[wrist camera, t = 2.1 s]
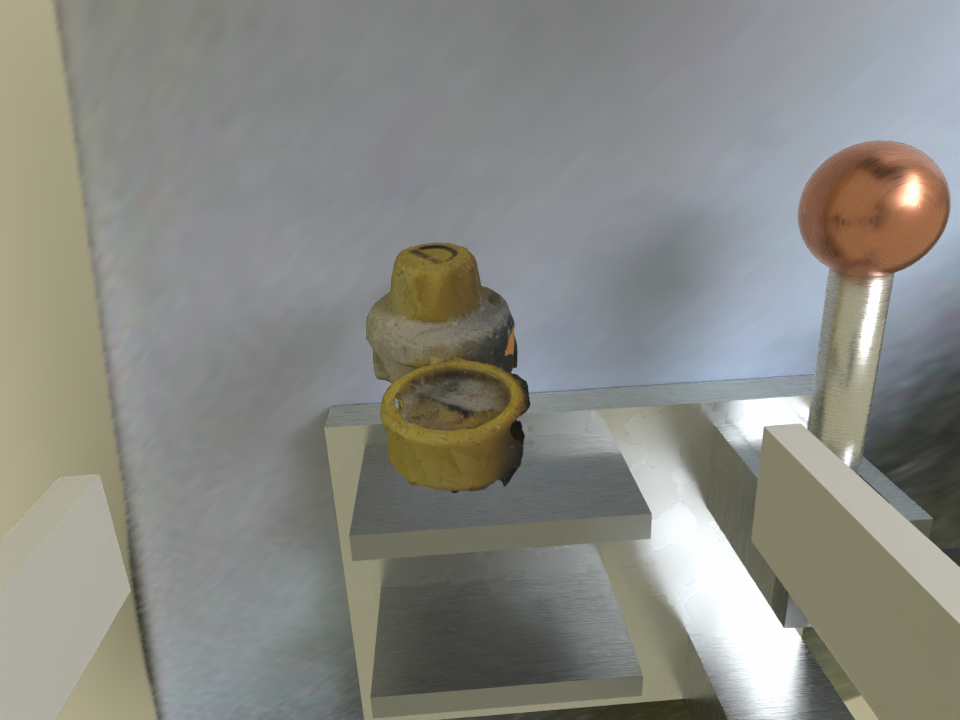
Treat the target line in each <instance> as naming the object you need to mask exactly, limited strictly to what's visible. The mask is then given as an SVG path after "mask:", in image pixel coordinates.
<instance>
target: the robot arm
mask: <svg viewBox="0 0 960 720" xmlns="http://www.w3.org/2000/svg"><path fill="white" fill-rule="evenodd" d="M751 541H752V543H753V544H754V545H755V547H756V548H757V550H758V551H759V552H760V554H761V555H762V557H763V558H764V559H765V561H766V562H767V564H768V565H769V566H770V568H771V569H772V571H773V572H774V573H775V575H776V576H777V578H778V579H779V580H780V582H781V583H782V585H783V586H784V587H785V589H786V590H787V592H788V593H789V594H790V596H791V597H792V599H793V600H794V601H795V603H796V604H797V606H798V607H799V608H800V610H801V611H802V613H803V614H804V615H805V617H806V618H807V620H808V621H809V622H810V624H811V625H812V627H813V628H814V629H815V631H816V632H817V634H818V635H819V636H820V638H821V639H822V641H823V642H824V643H825V645H826V646H827V648H828V649H829V650H830V652H831V653H832V655H833V656H834V657H835V659H836V660H837V662H838V663H839V664H840V666H841V667H842V669H843V670H844V671H845V673H846V674H847V676H848V677H849V678H850V680H851V681H852V683H853V684H854V685H855V687H856V688H857V690H858V691H859V692H860V694H861V695H862V697H863V698H864V699H865V701H866V702H867V703H868V705H869V706H870V708H871V709H872V711H873V712H874V713H875V715H876V716H877V718H878V719H879V720H960V549H959V548H953V549H941V550H940V549H939V548H938V547H937V546H936V545H935V544H934V543H932V542H931V541H930V540H929V539H928V538H927V537H926V536H925V535H924V534H922V533H921V532H920V531H919V530H918V529H917V528H916V527H915V526H914V525H913V524H911V523H910V522H909V521H908V520H907V519H906V518H905V517H904V516H903V515H901V514H900V513H899V512H898V511H897V510H896V509H895V508H894V507H893V506H891V505H890V504H889V503H888V502H887V501H886V500H885V499H884V498H883V497H882V496H880V495H879V494H878V493H877V492H876V491H875V490H874V489H873V488H872V487H870V486H869V485H868V484H867V483H866V482H865V481H864V480H863V479H862V478H861V477H859V476H858V475H857V474H856V473H855V472H854V471H853V470H852V469H851V468H849V467H848V466H847V465H846V464H845V463H844V462H843V461H842V460H841V459H839V458H838V457H837V456H836V455H835V454H834V453H833V452H832V451H831V450H830V449H828V448H827V447H826V446H825V445H824V444H823V443H822V442H821V441H820V440H818V439H817V438H816V437H815V436H814V435H813V434H812V433H811V432H810V431H809V430H807V429H806V428H805V427H804V426H803V425H802V424H801V423H799V424H785V425H771V426H764V428H763V437H762V446H761V456H760V465H759V474H758V483H757V492H756V501H755V510H754V519H753V528H752V537H751ZM130 591H131V589H130V586H129V582H128V578H127V574H126V571H125V567H124V563H123V560H122V556H121V552H120V548H119V544H118V541H117V537H116V533H115V529H114V526H113V522H112V518H111V515H110V511H109V507H108V503H107V500H106V496H105V492H104V488H103V485H102V481H101V477H100V474H94V475H81V476H67V477H59V478H58V479H57V480H56V481H55V482H54V483H53V484H52V485H51V486H50V487H49V488H48V489H47V490H46V492H45V493H44V494H43V495H42V496H41V497H40V498H39V499H38V500H37V501H36V502H35V503H34V504H33V506H32V507H31V508H30V509H29V510H28V511H27V512H26V513H25V514H24V515H23V516H22V518H21V519H20V520H19V521H18V522H17V523H16V524H15V525H14V526H13V527H12V528H11V529H10V530H9V531H8V532H7V534H6V535H5V536H4V537H3V538H2V539H1V540H0V720H56V719H57V717H58V716H59V714H60V712H61V710H62V709H63V707H64V705H65V703H66V702H67V700H68V698H69V697H70V695H71V693H72V691H73V690H74V688H75V686H76V684H77V683H78V681H79V679H80V678H81V676H82V674H83V672H84V671H85V669H86V667H87V665H88V664H89V662H90V660H91V659H92V657H93V655H94V653H95V652H96V650H97V648H98V646H99V645H100V643H101V641H102V640H103V638H104V636H105V634H106V633H107V631H108V629H109V628H110V626H111V624H112V622H113V621H114V619H115V617H116V615H117V614H118V612H119V610H120V609H121V607H122V605H123V603H124V602H125V600H126V598H127V596H128V595H129V593H130Z"/></svg>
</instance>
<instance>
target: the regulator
mask: <svg viewBox="0 0 960 720" xmlns="http://www.w3.org/2000/svg"><path fill="white" fill-rule="evenodd" d="M366 339H367V341H368V342H369V343H370V345H371V346H372V348H373V363H374V370H375V375H376V377H377V379H381V380H386V381H388V382H390V383H392V384H391V385H390V386H389V387H388V388H387V390H386V392H385V394H384V396H383V398H382V403H381V410H380V418H381V421H382V423H383V425H384V428H385V430H386V432H387V435H388V458H389V460H390V461H391V463H392V464H393V466H394V467H395V469H396V470H397V471H398V472H399V473H400V474H401V475H402V476H403V477H404V478H405V479H406V480H407V481H408V482H409V483H410V485H411V486H413V485H420V486H424V487H429V488H433V489H438V490H445V491H451V492H452V493H457V492H458V491H464V490H468V491H471V492H472V491H480V490H483V489H486V488H487V487H488V486H489V485H491V484H493V483H495V481H496V480H500V481H502V483H503V485H504V487H506V486H507V484H508V483H509V481H510V480H511V478H512V476H513V475H514V473H515V472H516V471H517V469H518V468H519V467H520V465H521V459H522V457H523V444H524V438H525V434H524V432H523V430H522V424H521V422H520V421H517V418H518V417H520V416H522V415H523V414H524V413H525V412H526V411H527V410H528V409H529V407H530V399H529V392H528V385H527V382H526V381H524V380H523V379H521V378H520V377H519V376H518V375H516V374H512V373H511V372H512V369H513V368H516V367H517V343H516V340H515V336H514V320H513V318H512V316H511V313H510V311H509V308H508V305H507V303H506V301H505V300H504V299H503V298H502V297H501V295H499V294H498V293H496V292H495V291H493V290H491V289H489V288H487V287H483V286H481V283H480V278H479V272H478V267H477V263H476V259H475V257H474V256H473V255H472V254H471V253H470V252H469V251H468V249H467V248H464V247H461V246H457V245H453V244H449V243H429V244H424V245H419V246H414V247H410V248H407V249H404V250H402V251H401V252H400V253H399V254H398V256H397V258H396V260H395V263H394V268H393V273H392V279H391V291H390V292H389V293H388V294H387V295H385V296H384V297H383V298H381V299H380V300H379V301H378V302H376V303H375V305H374V306H373V307H372V308H371V310H370V312H369V314H368V316H367V325H366ZM395 398H396V399H397V400H398V409H397V407H395Z"/></svg>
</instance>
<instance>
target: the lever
mask: <svg viewBox="0 0 960 720" xmlns="http://www.w3.org/2000/svg"><path fill="white" fill-rule="evenodd" d="M949 213H950V192H949V187H948V184H947V181H946V179H945V177H944V175H943V173H942V171H941V170H940V168H939V167H938V165H937V164H936V163H935V162H934V161H933V160H932V159H931V158H930V157H929V156H927V155H926V154H925V153H923V152H921V151H920V150H918V149H916V148H914V147H912V146H909V145H906V144H903V143H899V142H894V141H870V142H864V143H860V144H856V145H853V146H850V147H848V148H846V149H843V150H842V151H840V152H838V153H836V154H834V155H833V156H831V157H830V158H829V159H827V160H826V161H825V162H824V163H823V164H821V166H820V167H819V168H818V169H817V170H816V171H815V172H814V173H813V175H812V176H811V177H810V179H809V180H808V182H807V184H806V186H805V188H804V190H803V192H802V195H801V198H800V203H799V209H798V223H799V229H800V233H801V235H802V238H803V240H804V242H805V244H806V246H807V248H808V249H809V250H810V252H811V253H812V254H813V255H814V256H815V257H816V258H817V259H818V260H819V261H820V262H821V263H823V264H824V265H826V266H827V267H829V274H828V281H827V288H826V295H825V302H824V309H823V316H822V324H821V331H820V338H819V345H818V352H817V359H816V366H815V373H814V380H813V387H812V395H811V402H810V409H809V416H808V423H807V430H809V431H810V432H811V433H812V434H813V435H814V436H815V437H816V438H817V439H818V440H820V441H821V442H822V443H823V444H824V445H825V446H826V447H827V448H828V449H830V450H831V451H832V452H833V453H834V454H835V455H836V456H837V457H838V458H839V459H841V460H842V461H843V462H844V463H845V464H846V465H847V466H848V467H849V468H851V469H852V470H853V471H854V472H855V473H856V474H857V475H858V476H859V472H860V466H861V461H862V455H863V449H864V444H865V438H866V432H867V427H868V421H869V415H870V409H871V404H872V398H873V392H874V387H875V381H876V375H877V370H878V364H879V358H880V353H881V347H882V341H883V336H884V330H885V324H886V318H887V313H888V307H889V301H890V296H891V290H892V284H893V279H894V273H895V272H898V271H900V270H903V269H905V268H907V267H909V266H911V265H912V264H914V263H915V262H917V261H918V260H920V259H921V258H922V257H923V256H925V255H926V254H927V253H928V252H929V251H930V250H931V249H932V248H933V247H934V245H935V244H936V243H937V241H938V240H939V238H940V237H941V235H942V233H943V231H944V229H945V227H946V224H947V222H948V218H949Z"/></svg>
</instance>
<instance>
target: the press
mask: <svg viewBox="0 0 960 720" xmlns="http://www.w3.org/2000/svg"><path fill="white" fill-rule="evenodd" d="M813 380H814V375H801V376H786V377H770V378H755V379H740V380H724V381H709V382H694V383H679V384H663V385H648V386H633V387H618V388H602V389H587V390H572V391H556V392H541V393H529V399H530V407H529V409H528V410H527V411H526V412H525V413H524V414H523V415H522V416H520V417H518V418H517V421H520V422H521V424H522V430H523V432H524V434H525V438H524V444H523V457H522V459H521V465H520V467H519V468H518V469H517V471H516V472H515V473H514V475H513V476H512V478H511V480H510V481H509V483H508V484H507V486H506V487H504V485H503V483H502V481H500V480H496V481H495V483H493V484H491V485H489V486H488V487H487V488H486V489H483V490H480V491H472V492H471V491H468V490H464V491H458V492H457V493H452V492H451V491H445V490H438V489H433V488H429V487H424V486H420V485H413V486H411V485H410V483H409V482H408V481H407V480H406V479H405V478H404V477H403V476H402V475H401V474H400V473H399V472H398V471H397V470H396V469H395V467H394V466H393V464H392V463H391V461H390V460H389V458H388V435H387V432H386V430H385V428H384V425H383V423H382V421H381V418H380V410H381V403H373V404H358V405H343V406H331V407H330V410H329V413H328V417H327V420H326V423H325V427H324V430H325V438H326V445H327V452H328V460H329V467H330V474H331V481H332V489H333V496H334V503H335V511H336V518H337V525H338V532H339V540H340V547H341V554H342V561H343V569H344V576H345V583H346V591H347V598H348V605H349V612H350V620H351V627H352V634H353V642H354V649H355V656H356V663H357V671H358V678H359V685H360V693H361V700H362V707H363V714H364V720H440V719H451V718H463V717H475V716H487V715H498V714H510V713H522V712H534V711H545V710H557V709H569V708H581V707H593V706H604V705H616V704H628V703H640V702H651V701H663V700H675V699H684V701H685V704H686V706H687V709H688V711H689V714H690V716H691V719H692V720H855V719H854V718H853V716H852V715H851V713H850V712H849V710H848V708H847V707H846V706H845V704H844V702H843V701H842V699H841V698H840V696H839V695H838V693H837V692H836V690H835V689H834V687H833V686H832V684H831V683H830V681H829V680H828V678H827V677H826V675H825V674H824V672H823V670H822V669H821V667H820V666H819V664H818V663H817V661H816V660H815V658H814V657H813V655H812V654H811V652H810V651H809V649H808V648H807V646H806V645H805V643H804V642H803V640H802V639H801V638H802V632H803V627H811V626H812V625H811V624H810V622H809V621H808V620H807V618H806V617H805V615H804V614H803V613H802V611H801V610H800V608H799V607H798V606H797V604H796V603H795V601H794V600H793V599H792V597H791V596H790V594H789V593H788V592H787V590H786V589H785V587H784V586H783V585H782V583H781V582H780V580H779V579H778V578H777V576H776V575H775V573H774V572H773V571H772V569H771V568H770V566H769V565H768V564H767V562H766V561H765V559H764V558H763V557H762V555H761V554H760V552H759V551H758V550H757V548H756V547H755V545H754V544H753V543H752V541H751V537H752V528H753V519H754V510H755V501H756V492H757V483H758V474H759V465H760V456H761V446H762V437H763V428H764V426H771V425H785V424H799V423H801V424H802V425H803V426H804V427H805V428H806V429H807V423H808V416H809V409H810V402H811V395H812V387H813ZM395 407H397V409H398V402H395ZM859 477H861V478H862V479H863V480H864V481H865V482H866V483H867V484H868V485H869V486H870V487H872V488H873V489H874V490H875V491H876V492H877V493H878V494H879V495H880V496H882V497H883V498H884V499H885V500H886V501H887V502H888V503H889V504H890V505H891V506H893V507H894V508H895V509H896V510H897V511H898V512H899V513H900V514H901V515H903V516H904V517H905V518H906V519H907V520H908V521H909V522H910V523H911V524H913V525H914V526H915V527H916V528H917V529H918V530H919V531H920V532H921V533H922V534H924V535H925V536H926V537H927V538H928V539H929V536H930V532H931V527H932V523H933V518H932V517H931V516H930V515H929V514H927V513H926V512H925V511H924V510H923V509H922V508H921V507H919V506H918V505H917V504H916V503H915V502H914V501H913V500H912V499H910V498H909V497H908V496H907V495H906V494H905V493H904V492H902V491H901V490H900V489H899V488H898V487H897V486H896V485H895V484H893V483H892V482H891V481H890V480H889V479H888V478H887V477H885V476H884V475H883V474H882V473H881V472H880V471H879V470H878V469H876V468H875V467H874V466H873V465H872V464H871V463H870V462H868V461H867V460H866V459H865V458H864V457H863V456H862V461H861V466H860V472H859Z"/></svg>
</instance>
